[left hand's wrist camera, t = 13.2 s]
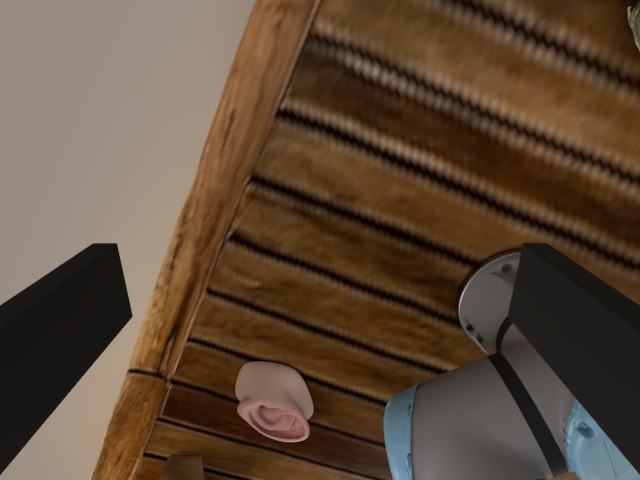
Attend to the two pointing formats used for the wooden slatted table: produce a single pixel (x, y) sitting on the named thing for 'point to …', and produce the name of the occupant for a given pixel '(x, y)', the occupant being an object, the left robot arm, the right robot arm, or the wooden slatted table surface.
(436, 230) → the wooden slatted table surface
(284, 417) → the anatomical model
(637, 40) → the fossil
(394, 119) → the wooden slatted table surface
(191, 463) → the block
